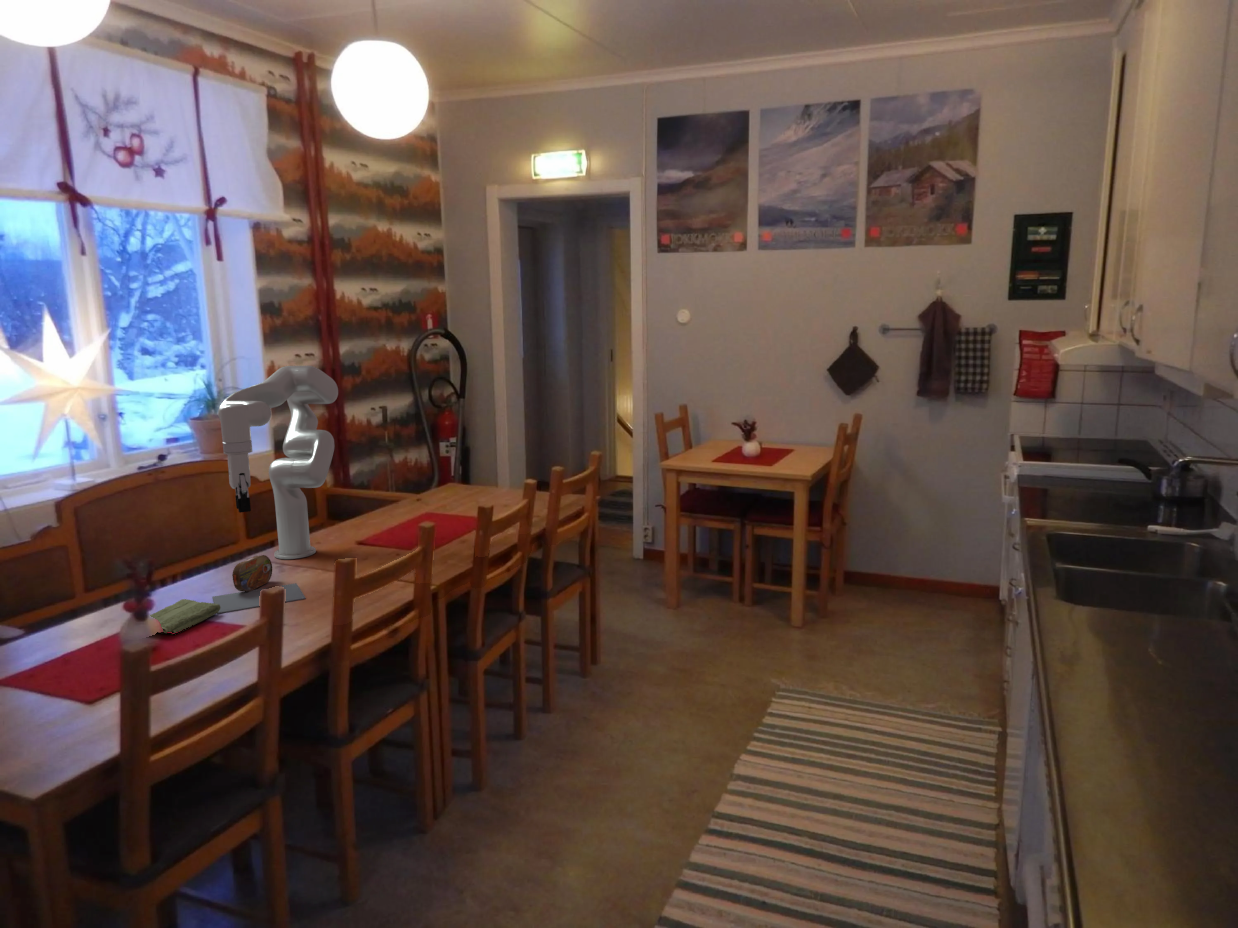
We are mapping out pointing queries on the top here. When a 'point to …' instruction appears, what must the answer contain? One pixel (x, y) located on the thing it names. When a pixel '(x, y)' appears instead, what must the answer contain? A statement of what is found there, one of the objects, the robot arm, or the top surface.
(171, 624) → the washcloth
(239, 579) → the tin
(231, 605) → the mat
